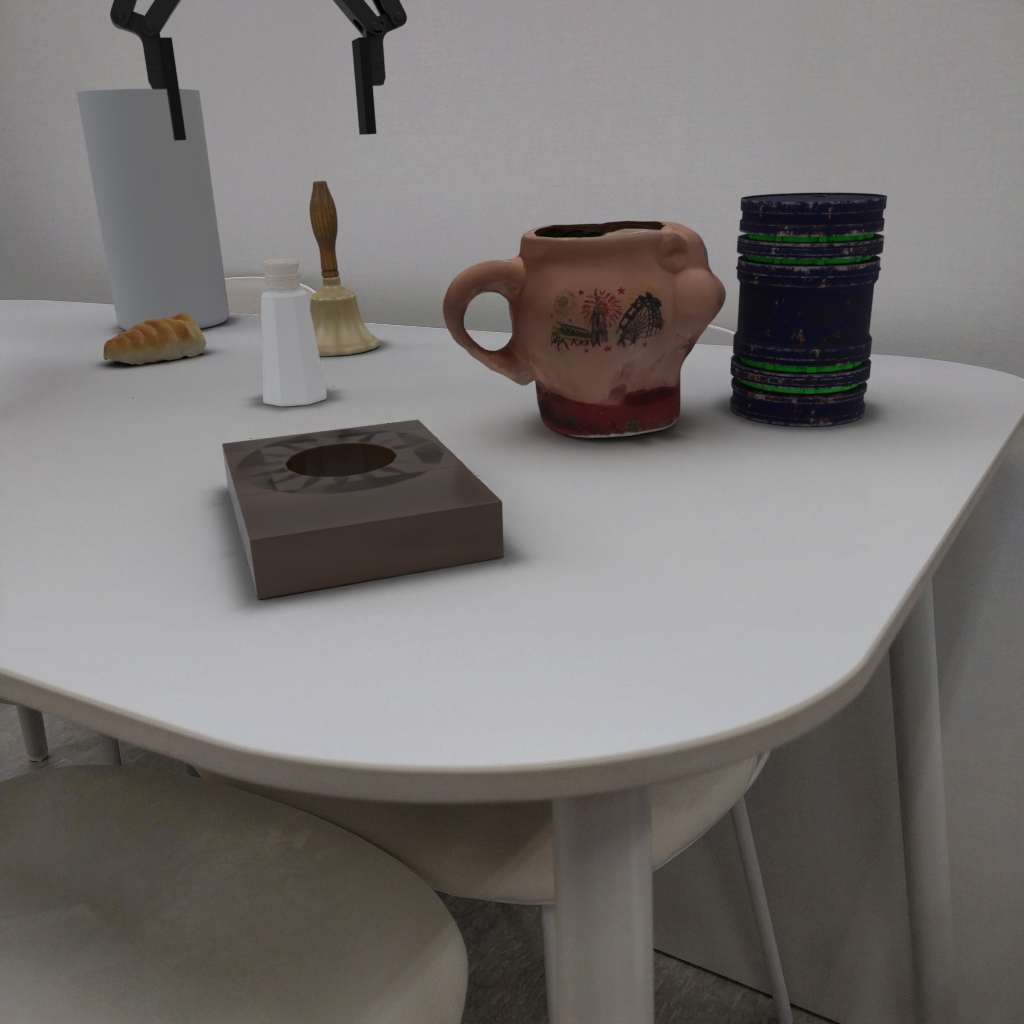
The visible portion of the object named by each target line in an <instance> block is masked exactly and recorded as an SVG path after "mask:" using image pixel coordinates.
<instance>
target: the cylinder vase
mask: <svg viewBox="0 0 1024 1024" xmlns="http://www.w3.org/2000/svg"><path fill="white" fill-rule="evenodd" d="M179 92H180V99H181V106H182V113H183V120H184V127H185V133H186V140H178V141H174V137H173V130H172V123H171V116H170V110H169V103H168V96H167V89H163V90H152V88H119V89H97V90H96V89H95V90H83V91H78V92H76V98H77V103H78V109H79V114H80V121H81V125H82V132H83V137H84V143H85V148H86V154H87V159H88V164H89V166H88V167H89V171H90V176H91V182H92V189H93V193H94V200H95V206H96V211H97V216H98V222H99V227H100V233H101V238H102V239H101V240H102V244H103V250H104V255H105V261H106V267H107V274H108V277H109V278H108V279H109V283H110V290H111V297H112V300H113V306H114V312H115V318H116V322H117V325H118V326H119V327H120V328H122V330H124V331H127V330H129V329H131V328H133V327H134V326H135V325H137V324H140V323H142V322H144V321H146V320H150V319H163V318H170V317H171V316H176V315H178V314H186V315H189V316H191V317H192V318H193V319H194V320H195V322H196V324H197V326H198V327H199V328H200V330H202V329H207V328H210V327H211V328H212V327H214V326H217V325H220V324H222V323H224V322H225V321H227V320H228V318H229V316H230V309H229V300H228V293H227V285H226V278H225V273H224V272H225V271H224V263H223V256H222V249H221V241H220V234H219V227H218V218H217V211H216V203H215V197H214V196H215V195H214V190H213V183H212V174H211V168H210V167H211V166H210V160H209V153H208V146H207V137H206V131H205V124H204V116H203V108H202V101H201V94H200V90H199V89H189V88H188V89H187V88H186V89H185V88H179Z"/></svg>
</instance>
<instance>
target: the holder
mask: <svg viewBox="0 0 1024 1024" xmlns="http://www.w3.org/2000/svg"><path fill="white" fill-rule="evenodd" d="M221 448H222V454H223V461H224V469H225V475H226V483H227V491H228V494H229V497H230V501H231V504H232V508H233V512H234V516H235V521H236V524H237V527H238V532H239V536H240V539H241V542H242V546H243V550H244V554H245V557H246V561H247V565H248V569H249V572H250V577H251V580H252V583H253V587H254V591H255V596H256V599H257V600H263V599H268V598H274V597H280V596H286V595H291V594H298V593H302V592H303V593H304V592H309V591H315V590H321V589H325V588H332V587H339V586H344V585H349V584H356V583H361V582H367V581H373V580H378V579H379V580H380V579H384V578H391V577H396V576H402V575H407V574H414V573H419V572H424V571H430V570H435V569H442V568H443V569H444V568H447V567H453V566H458V565H465V564H472V563H477V562H484V561H487V560H493V559H499V558H504V556H505V546H504V544H505V543H504V542H505V541H504V518H503V517H504V514H503V513H504V512H503V501H502V500H501V499H500V498H499V497H498V496H497V495H496V494H495V493H494V491H492V490H491V489H490V488H489V487H488V485H486V484H485V483H484V482H483V481H482V480H481V479H480V478H479V477H478V476H477V475H476V474H475V473H473V472H472V471H471V469H469V468H468V466H466V465H465V463H464V462H463V461H462V460H461V459H460V458H458V456H457V455H456V454H454V453H453V451H451V449H449V448H448V447H447V446H446V445H445V444H444V443H443V442H442V440H440V439H439V438H438V437H437V436H436V435H435V434H434V433H433V432H432V431H431V430H430V429H429V428H427V426H425V425H424V423H422V422H421V420H419V419H410V420H403V421H402V420H401V421H393V422H386V423H377V424H369V425H362V426H355V427H346V428H345V427H344V428H337V429H330V430H321V431H314V432H305V433H298V434H290V435H289V434H288V435H281V436H272V437H264V438H257V439H255V438H254V439H249V440H248V439H247V440H239V441H232V442H224V443H221Z"/></svg>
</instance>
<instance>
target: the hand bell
mask: <svg viewBox="0 0 1024 1024" xmlns="http://www.w3.org/2000/svg"><path fill="white" fill-rule="evenodd" d="M309 218H310V225H311V229H312V233H313V236H314V238H315V241H316V243H317V246H318V249H319V250H318V251H319V256H320V257H319V258H320V269H321V277H322V286H321V287H320V288H319V289H318V290H317V291H315V292H314V293H312V294H311V295H310V297H309V298H310V299H309V300H310V302H309V307H310V312H311V317H312V322H313V327H314V332H315V337H316V342H317V347H318V352H319V357H339V356H348V355H355V354H361V353H365V352H368V351H371V350H374V349H376V348H378V347H379V346H380V341H379V339H378V338H377V337H376V336H375V334H372V333H371V332H370V330H369V329H368V327H367V326H366V324H365V322H364V320H363V317H362V315H361V312H360V309H359V305H358V300H357V295H356V293H355V292H354V291H352V290H351V289H348V288H346V287H344V286H343V285H342V283H341V277H340V271H339V270H338V269H339V266H338V260H337V259H338V258H337V252H336V251H337V250H336V244H337V238H338V227H339V223H338V212H337V207H336V203H335V201H334V198H333V195H332V193H331V190H330V188H329V186H328V182H327V181H326V180H316V181H315V180H314V181H313V182H312V191H311V194H310V201H309Z"/></svg>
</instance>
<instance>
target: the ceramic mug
mask: <svg viewBox="0 0 1024 1024" xmlns="http://www.w3.org/2000/svg"><path fill="white" fill-rule="evenodd" d="M709 263H710V262H709V255H708V249H707V247H706V243H704V240H703V238H702V236H700V234H699V233H698V232H696V231H695V230H694V229H692V228H690V227H688V226H686V225H685V224H682V223H679V222H674V221H665V220H664V221H663V220H649V221H647V220H646V221H645V220H620V221H619V220H618V221H606V222H600V223H576V224H575V223H573V224H549V225H542V226H538V227H535V228H532V229H530V230H528V231H526V232H524V233H523V234H522V237H521V239H520V243H519V253H518V255H517V256H516V257H513V258H509V259H505V260H504V259H499V260H498V259H497V260H488V261H487V260H485V261H482V262H477V263H476V264H473V265H471V266H469V267H467V268H466V269H464V270H463V271H461V272H460V273H458V274H457V275H456V276H455V277H454V279H452V281H451V282H450V284H449V286H448V288H447V289H446V290H447V291H446V292H445V295H444V298H443V301H442V315H443V319H444V323H445V326H446V328H447V330H448V332H449V334H450V336H451V338H452V339H453V340H454V341H455V343H456V344H457V345H459V346H460V347H461V348H462V349H464V350H465V351H466V352H467V353H468V355H469V356H471V357H472V358H473V359H475V360H476V361H478V362H480V363H481V364H482V365H483V366H485V367H486V368H487V369H489V370H490V371H491V372H494V373H497V374H499V375H502V376H504V377H506V378H508V379H509V380H511V381H512V382H514V383H515V384H517V385H520V386H521V387H525V386H527V385H529V384H531V383H532V382H534V383H535V384H534V385H535V392H536V393H535V395H536V400H537V407H538V411H539V414H540V415H539V416H540V419H541V421H542V423H544V425H545V426H546V427H547V428H549V429H550V430H552V431H555V432H557V433H560V434H563V435H568V436H570V437H576V438H590V439H591V438H592V439H593V438H594V439H595V438H615V437H626V436H627V437H628V436H635V435H640V434H645V433H653V432H658V431H662V430H665V429H668V428H670V427H672V426H673V425H674V424H676V423H677V421H678V420H679V418H680V416H681V371H682V367H683V365H684V362H686V361H685V360H686V359H687V358H688V356H689V355H690V354H691V352H692V351H693V349H694V347H695V345H697V342H698V341H699V339H700V337H701V336H702V335H703V333H705V331H706V330H707V328H708V327H709V325H710V324H711V323H712V322H713V321H714V320H715V319H716V318H717V316H718V314H719V313H720V312H721V311H722V308H723V307H724V305H725V303H726V299H727V298H726V297H727V291H726V288H725V285H724V283H723V281H721V279H720V278H719V277H718V276H717V275H716V274H715V273H714V272H713V270H712V269H711V267H710V264H709ZM483 293H494V294H499V295H501V296H502V297H503V298H505V299H506V301H507V303H508V313H509V317H510V321H511V322H510V323H511V336H510V338H509V340H508V342H507V343H506V344H505V345H504V346H503V347H502V348H499V349H495V350H489V349H486V348H484V347H483V346H482V345H480V344H479V343H478V342H477V341H475V340H474V339H473V338H472V337H471V336H470V334H469V333H468V331H467V330H466V328H465V316H466V312H467V310H468V306H469V305H470V304H471V302H472V301H473V300H474V299H475V298H476V297H477V296H479V295H481V294H483Z"/></svg>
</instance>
